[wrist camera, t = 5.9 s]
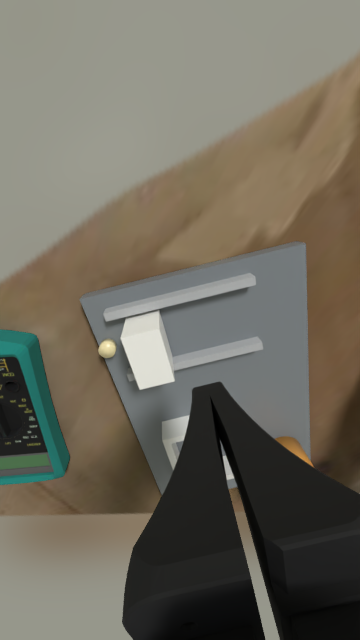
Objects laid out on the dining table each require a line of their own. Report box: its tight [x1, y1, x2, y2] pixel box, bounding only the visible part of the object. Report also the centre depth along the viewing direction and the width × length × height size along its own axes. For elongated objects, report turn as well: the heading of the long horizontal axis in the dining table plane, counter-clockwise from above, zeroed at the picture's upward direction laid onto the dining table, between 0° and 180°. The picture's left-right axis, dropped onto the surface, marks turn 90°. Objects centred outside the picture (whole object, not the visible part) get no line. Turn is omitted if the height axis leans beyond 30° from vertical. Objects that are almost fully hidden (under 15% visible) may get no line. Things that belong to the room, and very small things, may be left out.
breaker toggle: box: [121, 309, 175, 390], centre depth 18 cm, size 2×4×3 cm, turn 13°
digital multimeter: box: [0, 330, 70, 485], centre depth 21 cm, size 7×15×3 cm, turn 1°
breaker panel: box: [80, 241, 310, 495], centre depth 22 cm, size 16×24×3 cm, turn 13°
